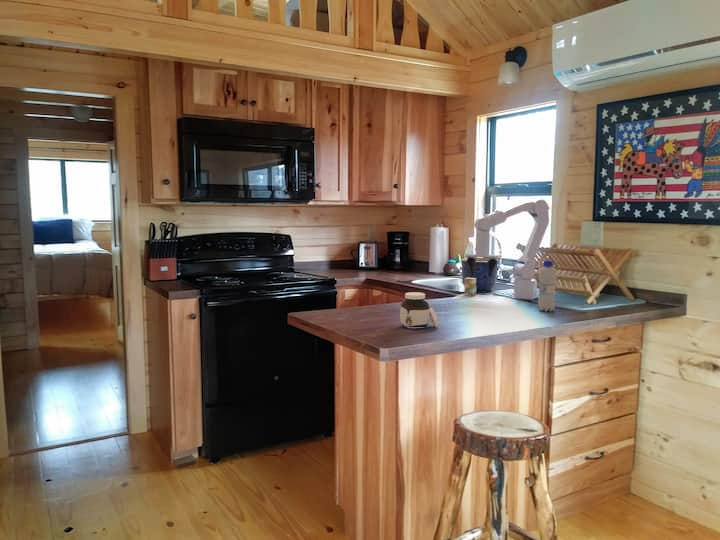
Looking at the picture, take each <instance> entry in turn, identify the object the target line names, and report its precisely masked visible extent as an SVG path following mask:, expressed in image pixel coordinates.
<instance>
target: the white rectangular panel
mask: <svg viewBox="0 0 720 540" xmlns="http://www.w3.org/2000/svg"><path fill="white" fill-rule="evenodd" d="M506 298H507V297H506V296H498V295H497V296H496V295H486V294H477V293H476V296H474V297H469V296H465V292H464V293H461V294H457V295H455V296H453V297H450V299H453V300H454V299H455V300H462V301H463V300H465V301H475V302H483V303H494V304H496V303H497V302H499V301H502V300H504V299H506Z"/></svg>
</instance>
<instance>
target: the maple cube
mask: <svg viewBox="0 0 720 540" xmlns="http://www.w3.org/2000/svg"><path fill="white" fill-rule="evenodd" d="M463 287H464V288H465V287H467V288H474V287H476V278H469V277H468V278H465V283H464V285H463Z"/></svg>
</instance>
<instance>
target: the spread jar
mask: <svg viewBox="0 0 720 540" xmlns="http://www.w3.org/2000/svg"><path fill="white" fill-rule="evenodd" d="M399 308H400V309H399V311H400V312H399V314H400V315H399V317H400V319H399V320H400V323H401V325H402V324H403V325H405V326H409V327H425V328H427V326H428V325H429V324H430V323H431V325H432V324H433V325H434V326H435V327H434V328H437V327H436V326H438V327H440V323H439V319H438V316H437V313H436V311H435V310H434V308H433V307H430V304H429V302H428V301H427V300H426V293H424V292H418V291H417V292H416V291H415V292H413V291H411V292H405V294H404V299H403V300H402V301H401V303H400V307H399ZM403 325H402V326H403ZM433 325H432V326H433Z"/></svg>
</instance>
